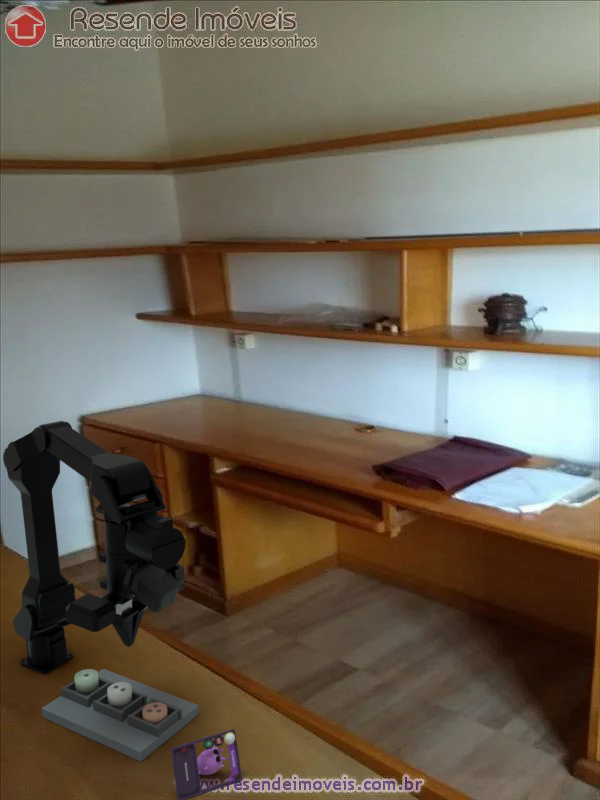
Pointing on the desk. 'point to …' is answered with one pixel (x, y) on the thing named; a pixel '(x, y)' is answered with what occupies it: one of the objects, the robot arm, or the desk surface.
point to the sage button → (86, 680)
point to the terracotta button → (154, 712)
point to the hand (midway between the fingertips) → (128, 645)
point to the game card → (203, 764)
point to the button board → (119, 716)
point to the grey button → (119, 694)
